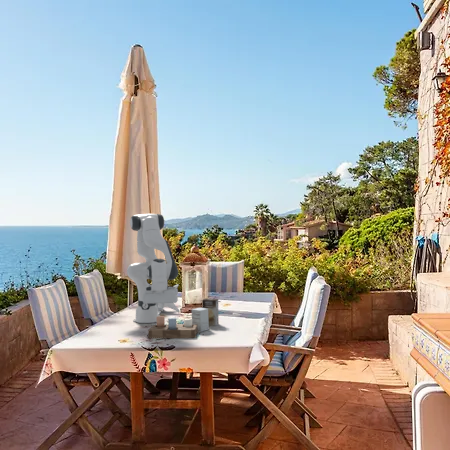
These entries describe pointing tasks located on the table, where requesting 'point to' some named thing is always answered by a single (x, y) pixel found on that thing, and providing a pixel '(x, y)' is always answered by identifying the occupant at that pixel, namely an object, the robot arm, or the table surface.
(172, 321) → the key slate
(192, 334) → the tray
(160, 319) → the tan rounded short cylinder
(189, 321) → the cream egg-shaped piece
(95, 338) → the table surface
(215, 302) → the coffee box
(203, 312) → the supplement box
